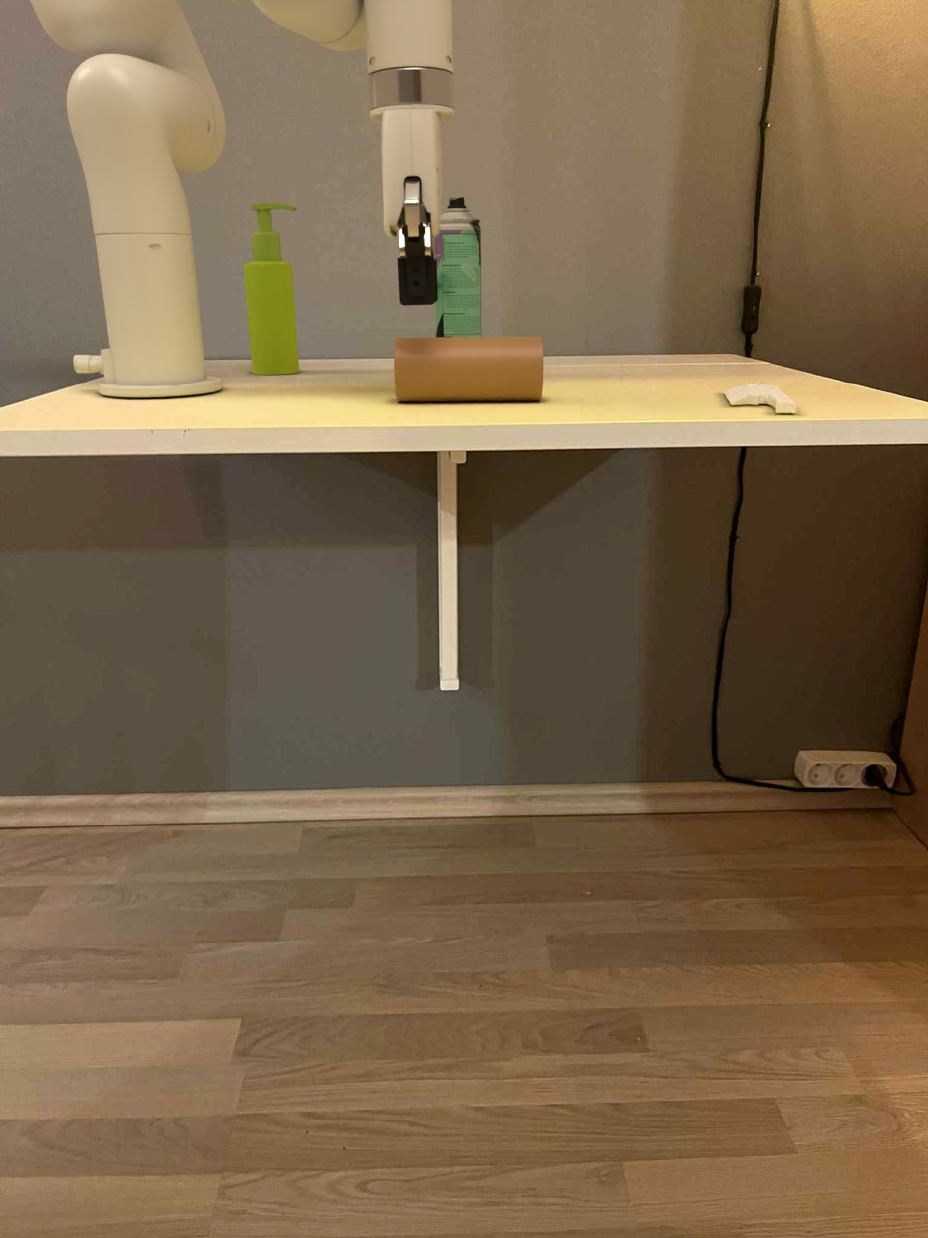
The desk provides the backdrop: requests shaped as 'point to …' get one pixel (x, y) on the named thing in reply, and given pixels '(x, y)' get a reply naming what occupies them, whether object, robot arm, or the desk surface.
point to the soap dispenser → (270, 300)
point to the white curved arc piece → (761, 396)
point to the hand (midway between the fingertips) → (419, 303)
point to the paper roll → (468, 369)
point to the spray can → (458, 272)
